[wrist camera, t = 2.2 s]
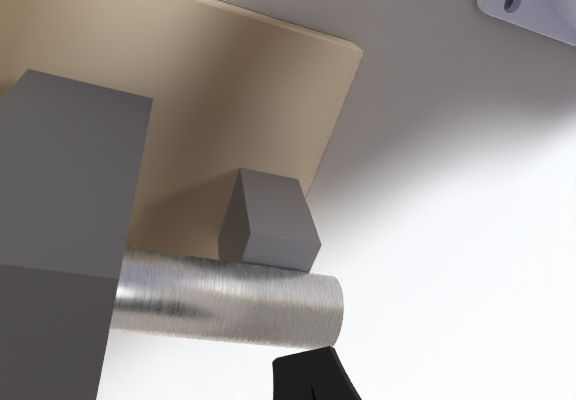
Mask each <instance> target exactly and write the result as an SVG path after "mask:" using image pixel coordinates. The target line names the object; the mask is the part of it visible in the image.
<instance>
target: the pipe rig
mask: <svg viewBox="0 0 576 400" xmlns="http://www.w3.org/2000/svg"><path fill="white" fill-rule="evenodd" d="M363 55H364V52H363V51H362V50H361V49H360V48H359V47H358V46H357V45H356V44H355V43H353V42H350V41H346V40H343V39H340V38H337V37H334V36H330V35H327V34H324V33H321V32H317V31H314V30H311V29H308V28H305V27H301V26H298V25H295V24H292V23H289V22H285V21H282V20H279V19H276V18H272V17H269V16H266V15H263V14H260V13H256V12H253V11H250V10H247V9H243V8H240V7H237V6H234V5H231V4H227V3H224V2H221V1H218V0H0V100H1V99H2V98H3V97H4V95H5V94H6V93H7V92H8V91H9V90H10V89H11V88H12V87H13V85H14V84H15V83H16V82H17V81H18V80H19V79H20V78H21V76H22V75H23V74H24V73H25V72H26V71H27V70H28V69H31V70H35V71H39V72H44V73H48V74H52V75H56V76H60V77H65V78H69V79H73V80H77V81H82V82H86V83H90V84H94V85H98V86H103V87H107V88H111V89H115V90H119V91H124V92H128V93H132V94H136V95H140V96H145V97H149V98H153V103H152V108H151V113H150V119H149V124H148V129H147V135H146V140H145V145H144V150H143V156H142V161H141V166H140V172H139V177H138V182H137V187H136V193H135V198H134V203H133V209H132V214H131V219H130V224H129V230H128V235H127V240H126V246H125V251H124V256H123V261H122V267H121V272H120V277H119V282H118V288H117V293H116V298H115V303H114V308H113V314H112V319H111V324H110V329H109V331H114V332H125V333H136V334H147V335H158V336H168V337H179V338H190V339H201V340H212V341H222V342H233V343H244V344H255V345H266V346H276V347H287V348H298V349H309V350H314V349H318V348H322V347H327V346H331V347H333V346H334V344H335V343H336V341H337V339H338V336H339V333H340V330H341V326H342V320H343V309H344V305H343V294H342V289H341V286H340V284H339V282H338V280H337V279H336V278H335V277H333V276H327V275H320V274H313V273H309V271H310V269H311V267H312V265H313V262H314V260H315V258H316V256H317V254H318V251H319V249H320V247H321V242H320V240H319V237H318V234H317V231H316V228H315V225H314V222H313V220H312V217H311V214H310V211H309V208H308V205H307V203H306V200H305V199H306V197H307V194H308V192H309V189H310V187H311V184H312V182H313V179H314V177H315V174H316V172H317V169H318V167H319V164H320V162H321V159H322V157H323V154H324V152H325V149H326V147H327V144H328V142H329V139H330V137H331V134H332V132H333V129H334V127H335V124H336V122H337V119H338V117H339V114H340V112H341V109H342V107H343V104H344V102H345V99H346V97H347V94H348V92H349V89H350V87H351V84H352V82H353V79H354V77H355V74H356V72H357V69H358V67H359V64H360V62H361V60H362V57H363Z"/></svg>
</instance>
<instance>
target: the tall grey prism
mask: <svg viewBox="0 0 576 400" xmlns="http://www.w3.org/2000/svg"><path fill="white" fill-rule="evenodd" d="M152 103H153V98H149V97H145V96H140V95H136V94H132V93H128V92H124V91H119V90H115V89H111V88H107V87H103V86H98V85H94V84H90V83H86V82H82V81H77V80H73V79H69V78H65V77H60V76H56V75H52V74H48V73H44V72H39V71H35V70H31V69H28V70H27V71H26V72H25V73H24V74H23V75H22V76H21V78H20V79H19V80H18V81H17V82H16V83H15V84H14V85H13V87H12V88H11V89H10V90H9V91H8V92H7V93H6V94H5V95H4V97H3V98H2V99H1V100H0V400H96V397H97V391H98V386H99V381H100V376H101V371H102V366H103V360H104V355H105V350H106V345H107V340H108V334H109V329H110V324H111V319H112V314H113V308H114V303H115V298H116V293H117V288H118V282H119V277H120V272H121V267H122V261H123V256H124V251H125V246H126V240H127V235H128V230H129V224H130V219H131V214H132V209H133V203H134V198H135V193H136V187H137V182H138V177H139V172H140V166H141V161H142V156H143V150H144V145H145V140H146V135H147V129H148V124H149V119H150V113H151V108H152Z"/></svg>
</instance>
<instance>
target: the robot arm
mask: <svg viewBox="0 0 576 400" xmlns="http://www.w3.org/2000/svg"><path fill="white" fill-rule="evenodd" d="M505 1H506V0H477V5H478V7H479V9H480V10H481V11H482V12H483V13H485V14H487V15H490V16H492V17H495V18H498V19H501V20H503V21H506V22H509V23H512V24H514V25H517V26H520V27H523V28H525V29H528V30H531V31H534V32H536V33H539V34H542V35H545V36H547V37H550V38H553V39H555V40H558V41H561V42H564V43H566V44H569V45H572V46H575V47H576V0H513V3H512V5H511V6H510V7H509V8H508V9H506V10H505V9H504V4H505ZM272 366H273V400H362V399H361V398H360V396H359V394H358V393H357V391H356V389H355V388H354V386H353V384H352V383H351V381H350V379H349V377H348V375H347V374H346V372H345V370H344V368H343V366H342V364H341V362H340V360H339V358H338V355H337V353H336V351H335V348H333V347H331V346H327V347H322V348H318V349H314V350H309V351H305V352H301V353H296V354H292V355H287V356H283V357H279V358H276V359H275V360H274V361H273V362H272Z"/></svg>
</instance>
